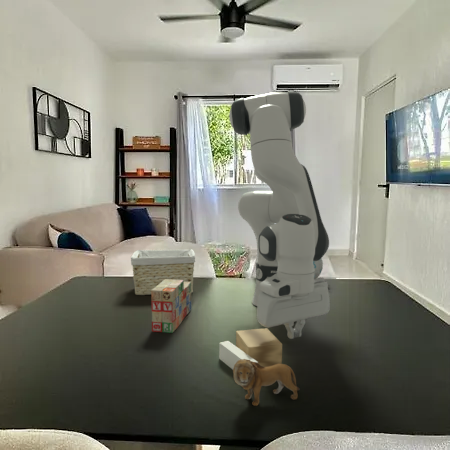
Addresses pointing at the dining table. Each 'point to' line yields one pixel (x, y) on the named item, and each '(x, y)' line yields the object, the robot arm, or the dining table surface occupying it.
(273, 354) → the oak block
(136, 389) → the dining table surface
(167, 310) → the stack of blocks
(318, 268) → the puzzle ball
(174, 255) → the storage basket
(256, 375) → the lion figurine
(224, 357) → the fence board
